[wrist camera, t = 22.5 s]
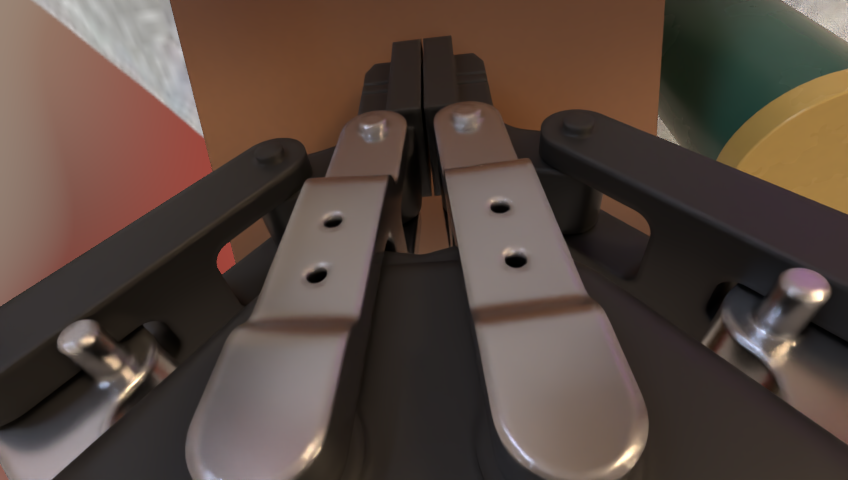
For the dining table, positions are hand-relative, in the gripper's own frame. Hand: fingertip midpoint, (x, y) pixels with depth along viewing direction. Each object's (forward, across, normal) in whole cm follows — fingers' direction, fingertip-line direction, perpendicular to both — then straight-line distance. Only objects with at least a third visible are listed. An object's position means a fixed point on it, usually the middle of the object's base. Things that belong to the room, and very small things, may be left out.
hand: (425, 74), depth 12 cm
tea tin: (+14, -12, +4) cm, 18 cm away
